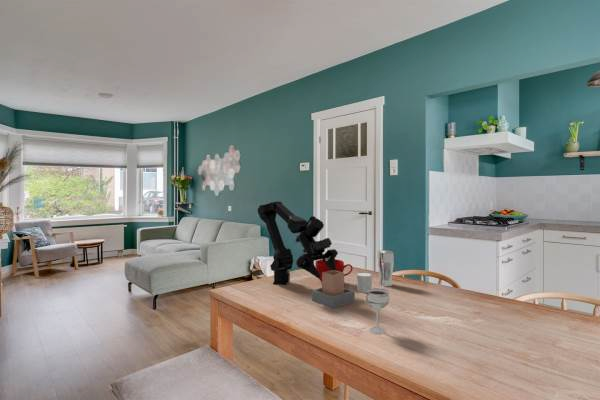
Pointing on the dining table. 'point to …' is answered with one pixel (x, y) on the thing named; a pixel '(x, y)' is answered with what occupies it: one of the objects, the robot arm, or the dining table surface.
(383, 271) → the beer glass
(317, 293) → the grey square tray
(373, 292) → the wineglass
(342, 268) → the ceramic cup
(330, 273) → the terracotta bin
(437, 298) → the dining table surface
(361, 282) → the white cylindrical piece
